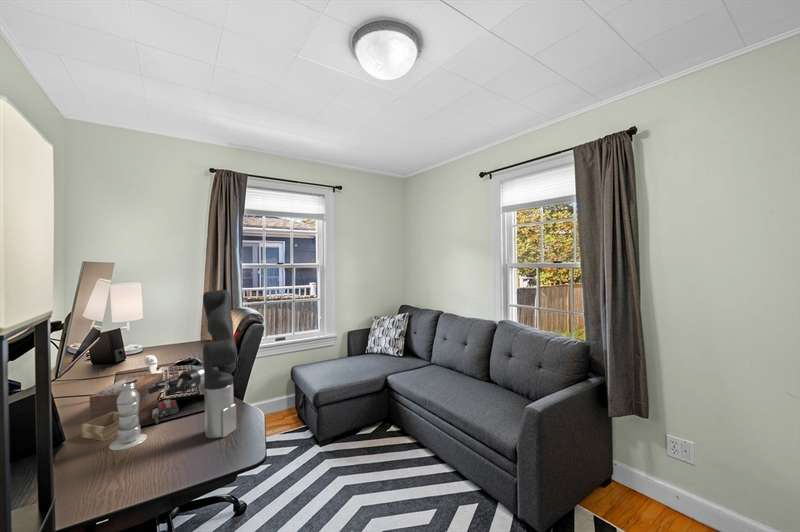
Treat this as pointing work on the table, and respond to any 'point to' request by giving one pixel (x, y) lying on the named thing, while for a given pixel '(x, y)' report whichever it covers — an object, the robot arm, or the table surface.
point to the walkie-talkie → (164, 409)
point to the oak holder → (101, 427)
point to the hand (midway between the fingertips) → (157, 392)
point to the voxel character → (152, 364)
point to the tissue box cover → (108, 396)
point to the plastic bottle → (128, 413)
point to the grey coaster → (122, 446)
